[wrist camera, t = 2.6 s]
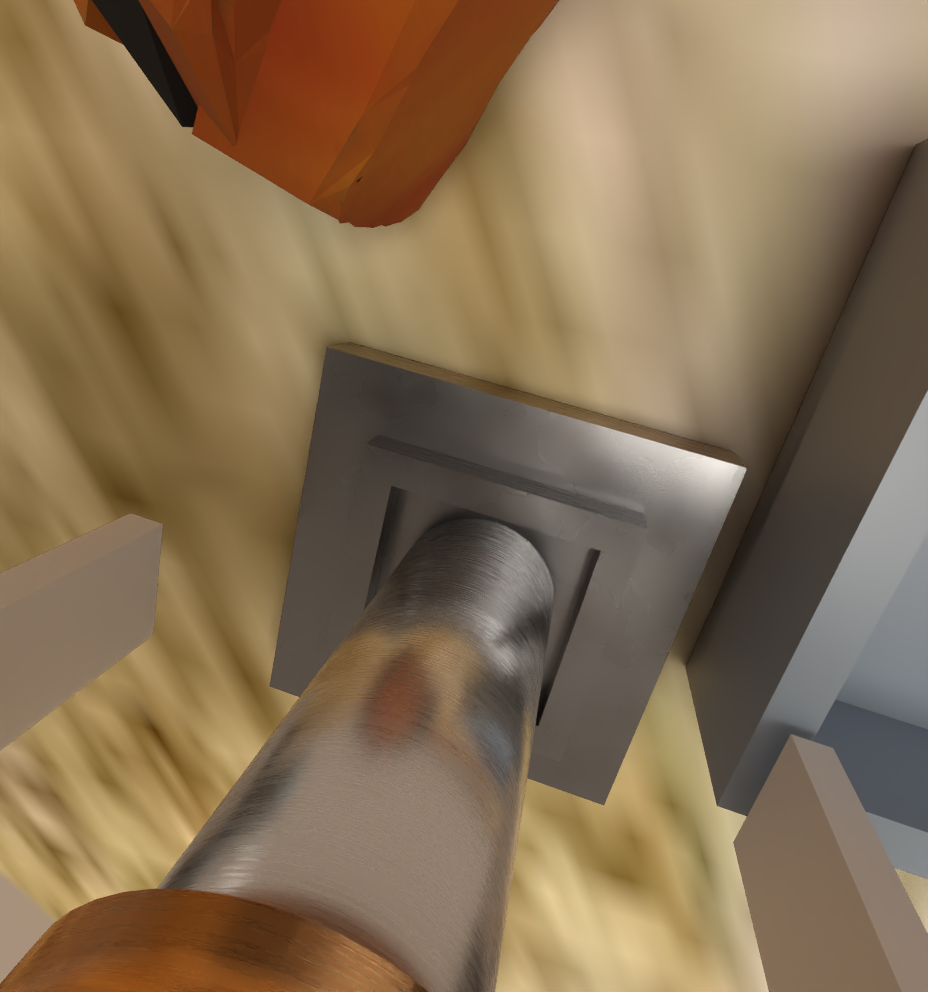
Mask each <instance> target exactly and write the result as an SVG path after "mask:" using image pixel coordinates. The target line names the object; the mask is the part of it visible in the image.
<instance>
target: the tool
mask: <svg viewBox="0 0 928 992" xmlns="http://www.w3.org/2000/svg"><path fill="white" fill-rule="evenodd" d="M558 1H559V0H74V2H75V4H76V6H77V9H78V11H79V13H80V15H81V17H82V19H83V22H84V24H85V25H86V26H88V27H90V28H91V29H93V30H95V31H97V32H99V33H101V34H103V35H105V36H107V37H109V38H111V39H113V40H115V41H117V42H119V43H121V44H123V45H124V46H125V47H126V49H127V50H128V52H129V53H130V54H131V56H132V57H133V59H134V60H135V61H136V63H137V64H138V66H139V67H140V68H141V70H142V71H143V73H144V74H145V75H146V77H147V78H148V80H149V81H150V82H151V84H152V85H153V87H154V88H155V89H156V91H157V92H158V93H159V95H160V96H161V98H162V99H163V100H164V102H165V103H166V105H167V106H168V107H169V109H170V110H171V112H172V113H173V114H174V116H175V117H176V119H177V120H178V121H179V123H180V124H181V126H182V127H193V132H192V134H193V135H195V136H196V137H198V138H200V139H201V140H203V141H205V142H206V143H208V144H209V145H211V146H213V147H214V148H216V149H218V150H219V151H221V152H223V153H224V154H226V155H228V156H229V157H231V158H233V159H234V160H236V161H238V162H239V163H241V164H243V165H244V166H246V167H248V168H249V169H251V170H253V171H254V172H256V173H258V174H259V175H261V176H263V177H264V178H266V179H268V180H269V181H271V182H272V183H274V184H276V185H277V186H279V187H281V188H282V189H284V190H286V191H287V192H289V193H291V194H292V195H294V196H296V197H297V198H299V199H301V200H302V201H304V202H306V203H307V204H309V205H311V206H313V207H315V208H317V209H319V210H321V211H323V212H325V213H326V214H328V215H330V216H332V217H334V218H336V219H338V220H339V222H340V223H347V222H350V223H351V224H352V225H353V226H354V227H371V228H374V227H377V226H380V225H383V226H388V225H391V224H394V223H399V222H401V221H403V220H404V219H406V218H407V217H409V216H410V215H412V214H413V213H414V212H416V211H417V210H419V208H420V207H421V205H422V204H423V203H424V201H425V200H426V198H427V197H428V195H429V194H430V193H431V191H432V190H433V188H434V187H435V186H436V184H437V183H438V181H439V180H440V178H441V177H442V176H443V174H444V173H445V172H446V170H447V169H448V168H449V166H450V165H451V164H452V162H453V161H454V160H455V158H456V157H457V156H458V154H459V153H460V152H461V150H462V149H463V148H464V146H465V144H466V143H467V141H468V139H469V138H470V136H471V134H472V131H473V130H474V128H475V126H476V124H477V122H478V120H479V119H480V117H481V115H482V113H483V111H484V110H485V108H486V106H487V104H488V102H489V100H490V99H491V97H492V95H493V93H494V91H495V89H496V88H497V86H498V84H499V82H500V81H501V79H502V78H503V76H504V75H505V73H506V72H507V70H508V69H509V67H510V66H511V65H512V63H513V62H514V60H515V59H516V57H517V56H518V54H519V53H520V51H521V50H522V48H523V47H524V45H525V44H526V43H527V41H528V40H529V38H530V37H531V35H532V34H533V33H534V32H535V31H536V30H537V29H538V28H539V27H540V26H541V24H542V23H543V21H544V20H545V19H546V17H547V16H548V15H549V13H550V12H551V11H552V9H553V8H554V7H555V5H556V4H557V3H558Z"/></svg>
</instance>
